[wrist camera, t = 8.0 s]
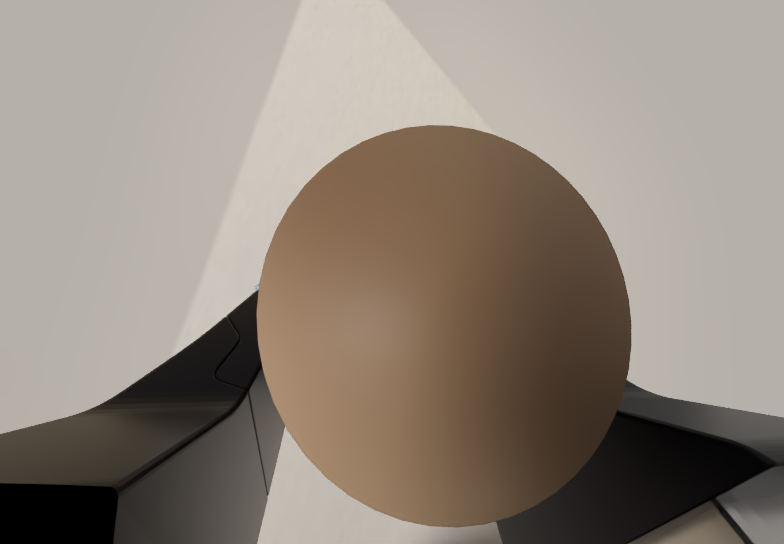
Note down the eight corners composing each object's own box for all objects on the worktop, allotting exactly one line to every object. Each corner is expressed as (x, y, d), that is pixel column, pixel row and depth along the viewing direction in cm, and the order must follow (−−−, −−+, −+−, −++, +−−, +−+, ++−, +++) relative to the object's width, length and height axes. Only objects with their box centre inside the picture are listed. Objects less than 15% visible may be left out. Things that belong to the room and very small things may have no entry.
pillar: (373, 373, 15) (563, 598, 3) (301, 336, 15) (158, 408, 2) (408, 303, 16) (667, 238, 4) (342, 267, 16) (384, 60, 3)
